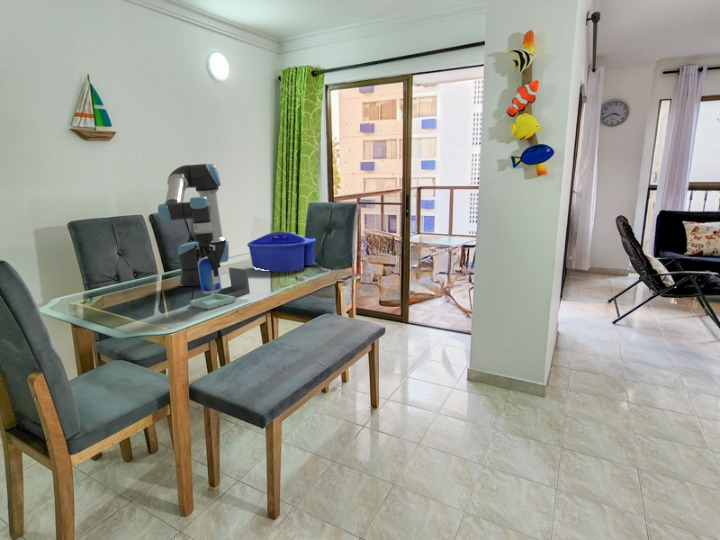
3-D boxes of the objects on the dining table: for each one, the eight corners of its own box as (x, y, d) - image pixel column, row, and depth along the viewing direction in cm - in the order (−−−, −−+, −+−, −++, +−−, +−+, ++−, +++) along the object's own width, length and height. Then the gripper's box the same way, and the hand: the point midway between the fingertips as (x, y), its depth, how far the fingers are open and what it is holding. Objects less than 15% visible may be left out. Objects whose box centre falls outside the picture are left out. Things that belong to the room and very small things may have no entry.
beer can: (203, 295, 189) (198, 259, 186) (200, 291, 197) (195, 257, 193) (222, 292, 193) (218, 256, 190) (219, 288, 200) (214, 254, 197)
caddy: (302, 273, 252) (298, 233, 247) (239, 271, 269) (235, 234, 264) (326, 262, 281) (323, 226, 276) (268, 262, 298) (264, 228, 293)
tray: (190, 306, 195) (190, 300, 194) (217, 298, 206) (217, 293, 205) (208, 310, 186) (207, 304, 186) (235, 302, 197) (234, 296, 196)
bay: (214, 295, 212) (211, 271, 209) (233, 290, 220) (230, 267, 218) (230, 298, 203) (227, 273, 201) (249, 293, 212) (246, 269, 210)
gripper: (182, 233, 193) (190, 282, 198) (209, 234, 180) (216, 286, 184) (197, 231, 199) (204, 278, 203) (224, 231, 186) (231, 282, 190)
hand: (210, 282), depth 194 cm, fingers closed on beer can, 8 cm apart
